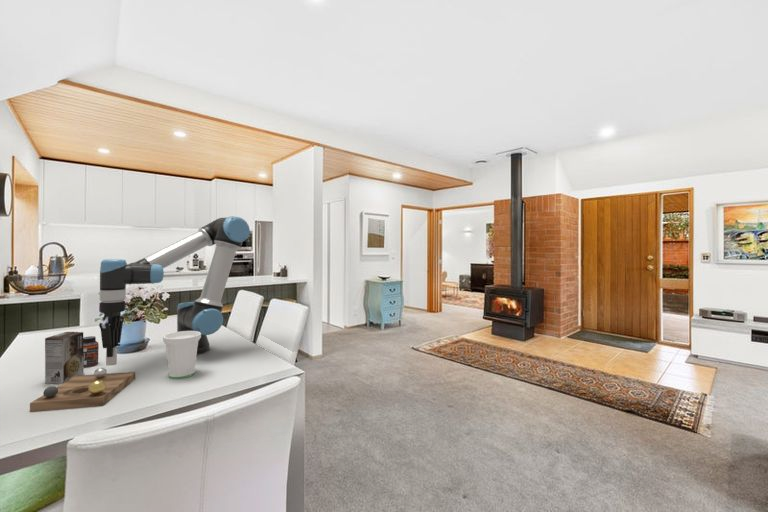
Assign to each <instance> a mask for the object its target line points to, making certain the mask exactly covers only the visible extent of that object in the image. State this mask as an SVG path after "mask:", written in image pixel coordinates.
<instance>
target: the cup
mask: <svg viewBox="0 0 768 512" xmlns="http://www.w3.org/2000/svg"><path fill="white" fill-rule="evenodd" d="M200 338H201V333H200V332H198V331H181V332H177V331H175V332H174V331H173V332H169V333H167V334H164V335H163V337H162V340H163V341H162V342H163V343H164V344H165V349H166V357H167V365H168V373H169V374H168V376H169V379H172V380H174V379H175V380H178V379H180V380H181V379H184V378H185V379H186V378H189V377H192V376H193V375H195V373H196V369H195V368H196V361H197V355H198V354H197V347H198V341H199V339H200Z"/></svg>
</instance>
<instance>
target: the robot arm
mask: <svg viewBox="0 0 768 512" xmlns="http://www.w3.org/2000/svg"><path fill="white" fill-rule="evenodd" d="M250 234H251V230H250V225H249V224H248V222H247V221H246V220H245V219H244V218H242V217H240V216H234V215H233V216H228V217H226V216H225V217H219V218H216V219H214V220H213V221H211V222H209V223H207V224H206V225H204V226H202V227H199V228H198V230H197V232H195V233H193V234H191V235H188V236H186V237H184V238H182V239H180V240H179V241H176V242H173V243H172V244H170V245H168V246H166V247H164V248H162V249H160V250H157V251H155V252H153V253H151V254H149V255H147V256H145V257H143V258H142V259H139V260H137V261H134V262H130V263H127V260H126V259H119V258H118V259H117V258H115V259H114V258H113V259H112V258H111V259H110V258H109V259H105V258H104V259H103V260H101V262H100V268H99V292H98V295H99V301H100V302H99V303H98V305H99V307H98V309H99V313H101V314H103V319H102V320H103V321H102V322H99V324H98V327H99V329H100V335H101V342H102V343H101V344H102V349H106V351H105V356H106V357H105V366H107V367H108V366H116V365H117V364H118V363H117V362H118V361H117V359H118V347H120V346H121V339H122V330H123V324H124V321H125V320H124V319H125V317H124V316H122V315H121V313H122V312H125V311H126V301H125V300H126V297H127V296H126V295H127V293H126V292H127V289H126V287H127V285H146V284H149V285H150V284H152V285H153V284H159V283H160V284H161V283H162V281H163V280H164V277H165V275H164V269H165V268H167V267H170V266H171V265H173V264H174V263H177V262H178V261H180V260H182V259H184V258H186V257H188V256H190V255H192V254H194V253H196V252H197V251H199V250H201V249H203V248H205V247H207V246H208V247H212V246H214V245H215V246H216V247H215V249H214V253H213V256H212V260H211V262H210V265H209V269H208V271H207V274H206V277H205V280H204V284H203V288H202V290H201V294H200V296H199V297H198V298H197V299H195V300H194V301H188V302H187V301H186V302H181V303H180V302H179V303H178V304H177V309H176V312H177V313H176V314H177V315H176V318H177V319H176V320H177V321H176V322H177V323H176V326H177V327H176V328H177V329H176V330H177V331H176V332H181V331H198V332H200V333H201V338H200V339H199V341H198V347H197V355H199V354H203V353H206V352H209V350H210V349H211V348H210V347H211V346H210V341H209V338H208V336H209V335H212V334H215V333H216V332H218V331H219V330H220V328H221V327H222V326H223V322H224V316H223V314H222V312H223V308H224V305H223V303H222V299H223V295H224V292H225V288H226V286H227V283H228V279H229V276H230V272H231V269H232V266H233V263H234V260H235V256H236V254H237V251H239V250H241V248H242V245H243V242H245V241H246V240H247V239H248V238H249V236H250Z"/></svg>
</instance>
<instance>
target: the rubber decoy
mask: <svg viewBox="0 0 768 512" xmlns="http://www.w3.org/2000/svg"><path fill="white" fill-rule="evenodd" d="M57 387H58V386H54V385H50V386H47V387H46V388H45V389H44V390H43V395H44V396H45V397H53V396H55V395H56V394H57V393H58V388H57Z"/></svg>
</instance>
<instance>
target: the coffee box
mask: <svg viewBox="0 0 768 512" xmlns="http://www.w3.org/2000/svg"><path fill="white" fill-rule="evenodd" d="M83 338H84V332H83V331H81V332H80V331H79V332H78V331H64V332H61V333H57V334H54V335H52V336H48V337H45V338H44V351H45V352H44V364H45V365H44V375H45V376H44V383H45V385H49V384H51V385H52V384H63V383H65V382H66V381H68V380H70V379H72V378H73V377H75V376H79V375H85V372H84V368H85V367H84V351H83V350H84V349H83Z"/></svg>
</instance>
